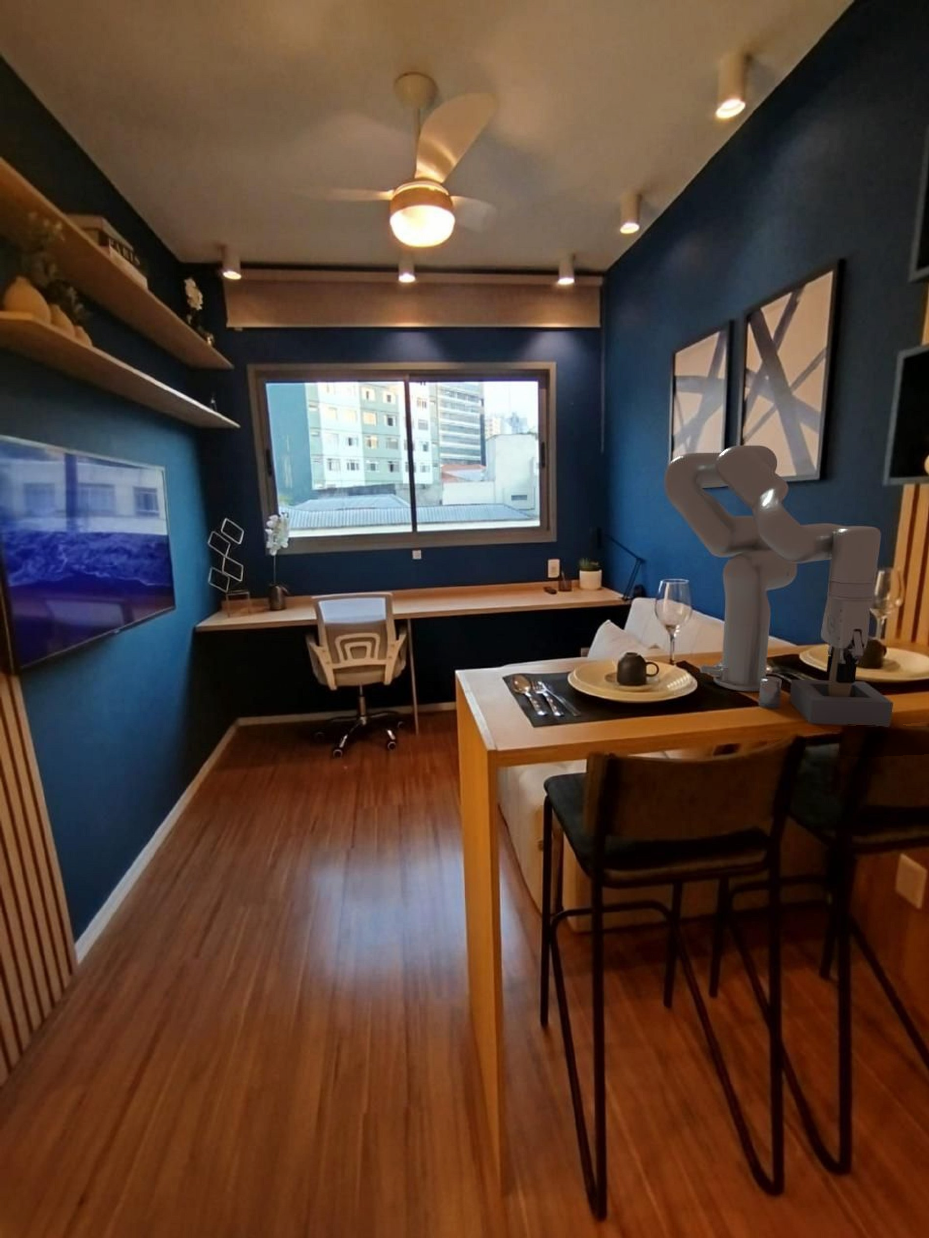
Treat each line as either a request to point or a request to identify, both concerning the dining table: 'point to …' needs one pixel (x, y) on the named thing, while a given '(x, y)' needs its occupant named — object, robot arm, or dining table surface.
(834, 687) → the handle
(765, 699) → the short peg
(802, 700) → the block
